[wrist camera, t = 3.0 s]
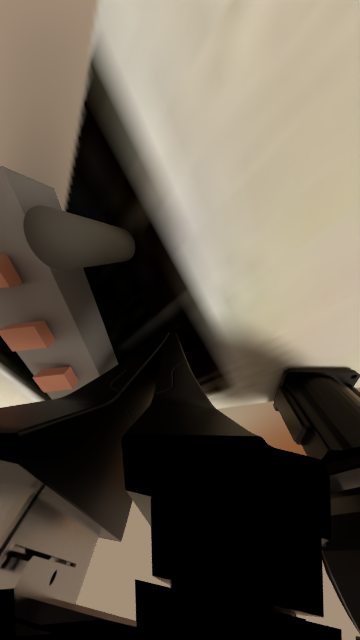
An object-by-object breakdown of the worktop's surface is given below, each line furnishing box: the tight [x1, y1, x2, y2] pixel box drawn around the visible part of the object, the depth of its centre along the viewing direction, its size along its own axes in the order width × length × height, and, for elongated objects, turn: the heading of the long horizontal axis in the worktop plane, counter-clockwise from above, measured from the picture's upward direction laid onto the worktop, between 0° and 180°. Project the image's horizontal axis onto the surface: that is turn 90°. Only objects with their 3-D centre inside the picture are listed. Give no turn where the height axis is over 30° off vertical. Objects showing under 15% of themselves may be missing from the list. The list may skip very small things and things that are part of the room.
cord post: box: [23, 205, 135, 271], centre depth 9 cm, size 2×2×6 cm
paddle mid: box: [0, 321, 56, 351], centre depth 12 cm, size 3×2×1 cm
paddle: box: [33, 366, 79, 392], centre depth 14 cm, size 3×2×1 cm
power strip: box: [0, 166, 118, 400], centre depth 14 cm, size 8×20×3 cm, turn 5°
